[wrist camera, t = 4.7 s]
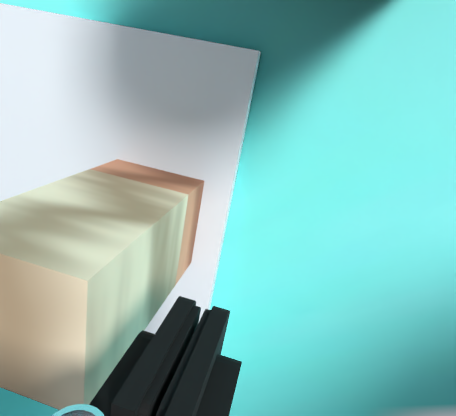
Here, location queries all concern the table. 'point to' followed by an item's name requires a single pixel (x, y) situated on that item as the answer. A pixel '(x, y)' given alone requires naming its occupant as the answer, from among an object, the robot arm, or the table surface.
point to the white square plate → (125, 115)
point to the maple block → (88, 274)
